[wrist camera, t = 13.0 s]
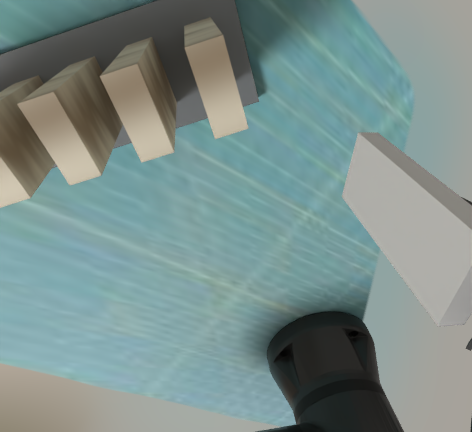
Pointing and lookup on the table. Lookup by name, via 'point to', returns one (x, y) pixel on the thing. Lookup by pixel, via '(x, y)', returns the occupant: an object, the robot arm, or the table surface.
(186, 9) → the domino board
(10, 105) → the domino
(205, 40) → the domino
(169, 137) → the domino
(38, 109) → the domino
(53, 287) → the table surface
